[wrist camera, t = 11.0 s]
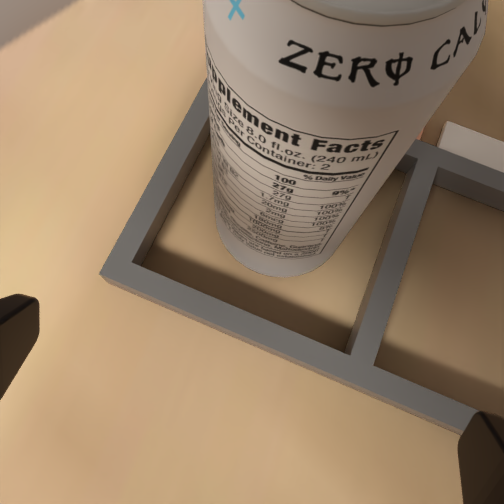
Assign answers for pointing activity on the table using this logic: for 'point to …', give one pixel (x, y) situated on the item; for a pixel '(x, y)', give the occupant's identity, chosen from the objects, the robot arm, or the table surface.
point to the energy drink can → (320, 112)
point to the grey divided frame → (380, 283)
